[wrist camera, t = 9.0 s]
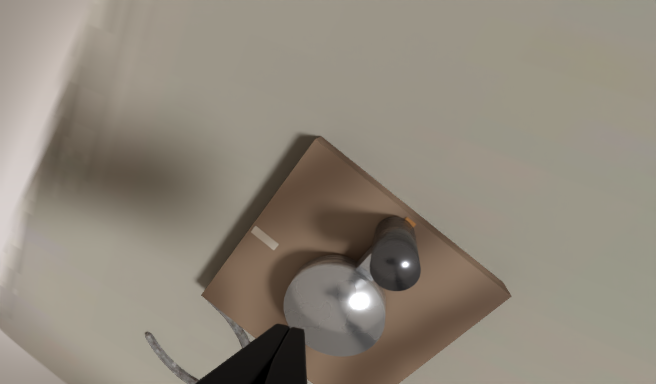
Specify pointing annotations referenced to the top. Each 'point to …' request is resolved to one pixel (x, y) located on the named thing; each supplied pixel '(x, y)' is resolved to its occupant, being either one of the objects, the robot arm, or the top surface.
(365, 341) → the crank handle
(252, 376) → the robot arm
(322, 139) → the dial plate
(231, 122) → the top surface
